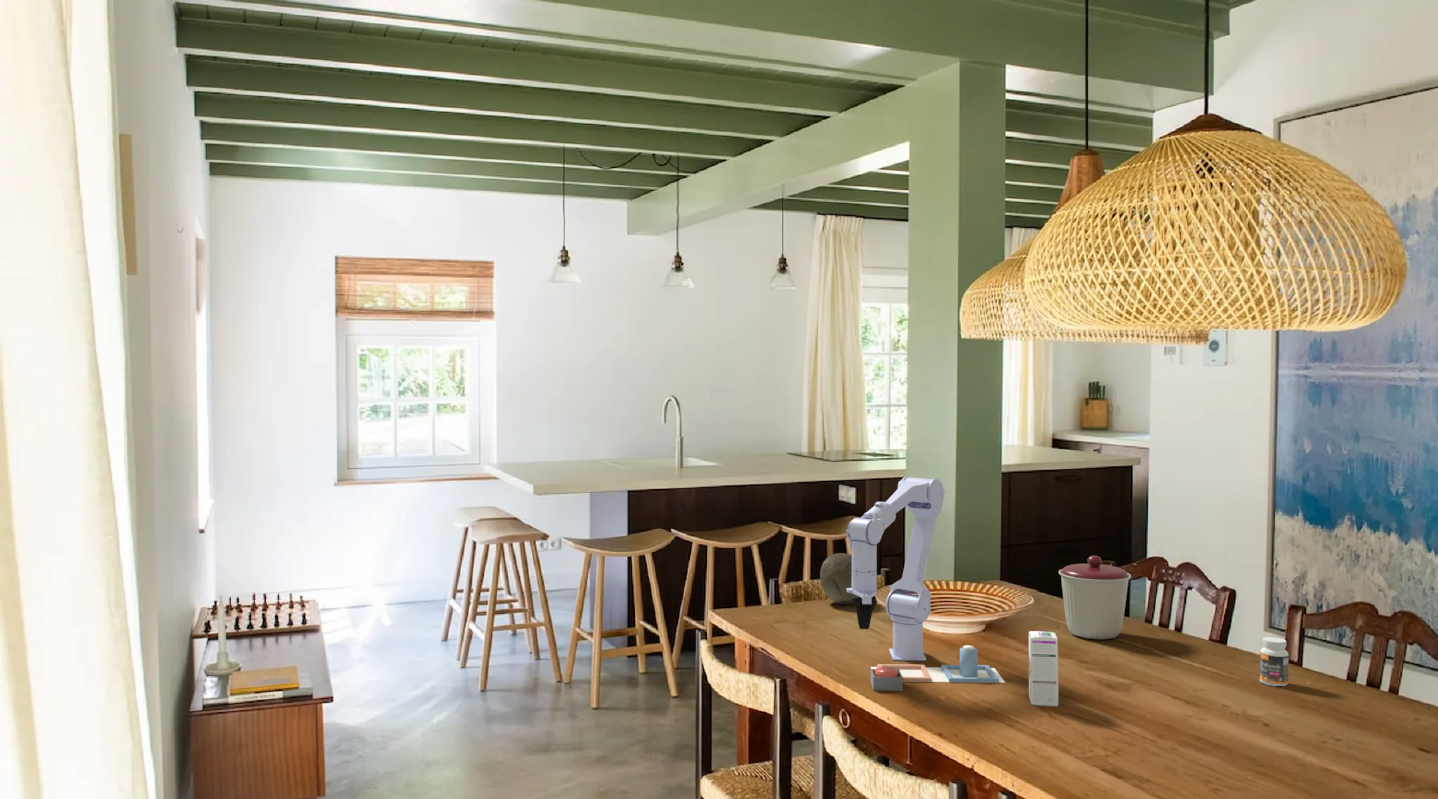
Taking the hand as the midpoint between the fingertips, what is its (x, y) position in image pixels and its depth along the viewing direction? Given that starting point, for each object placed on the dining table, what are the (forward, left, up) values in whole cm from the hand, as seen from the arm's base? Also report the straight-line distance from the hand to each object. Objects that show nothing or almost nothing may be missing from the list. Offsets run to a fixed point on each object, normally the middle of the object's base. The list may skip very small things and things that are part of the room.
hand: (864, 628), depth 248 cm
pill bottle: (+5, +91, -11) cm, 92 cm away
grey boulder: (-73, 0, -11) cm, 74 cm away
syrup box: (+20, +36, -11) cm, 43 cm away
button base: (+11, +4, -10) cm, 15 cm away
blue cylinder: (+2, +24, -10) cm, 26 cm away
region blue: (+2, +24, -10) cm, 26 cm away
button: (+11, +4, -9) cm, 14 cm away
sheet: (+1, +17, -10) cm, 20 cm away
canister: (-37, +64, -11) cm, 75 cm away
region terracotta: (+2, +9, -10) cm, 14 cm away
